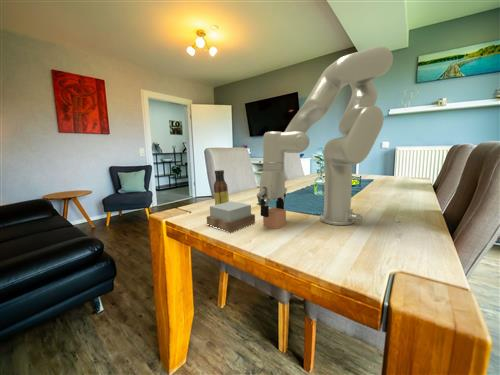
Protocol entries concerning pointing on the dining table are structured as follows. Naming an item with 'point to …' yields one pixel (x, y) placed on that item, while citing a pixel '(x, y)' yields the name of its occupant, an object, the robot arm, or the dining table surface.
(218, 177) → the sauce bottle
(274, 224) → the terracotta cube
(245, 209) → the slate block
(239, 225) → the walnut block
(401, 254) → the dining table surface
